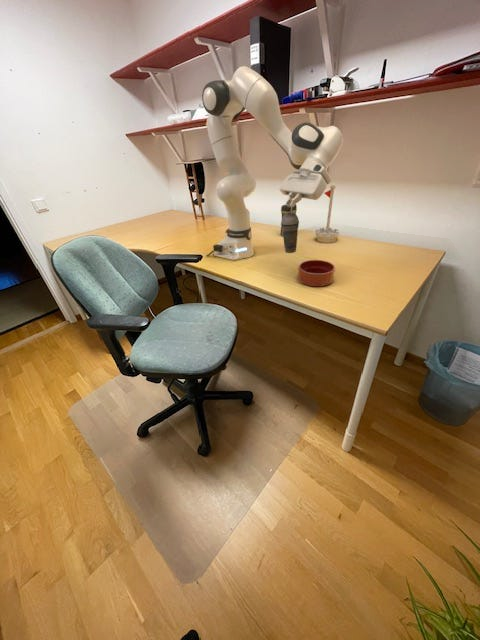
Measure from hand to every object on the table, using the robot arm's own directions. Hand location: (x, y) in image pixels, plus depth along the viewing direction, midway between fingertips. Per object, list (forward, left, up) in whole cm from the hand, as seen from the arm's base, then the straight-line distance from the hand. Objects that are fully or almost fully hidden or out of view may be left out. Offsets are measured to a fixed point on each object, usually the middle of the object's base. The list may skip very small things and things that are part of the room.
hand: (289, 205), depth 97 cm
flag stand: (+8, +56, -30) cm, 65 cm away
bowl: (+12, +2, -30) cm, 33 cm away
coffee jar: (-17, +61, -30) cm, 71 cm away
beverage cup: (+1, +2, -19) cm, 19 cm away
